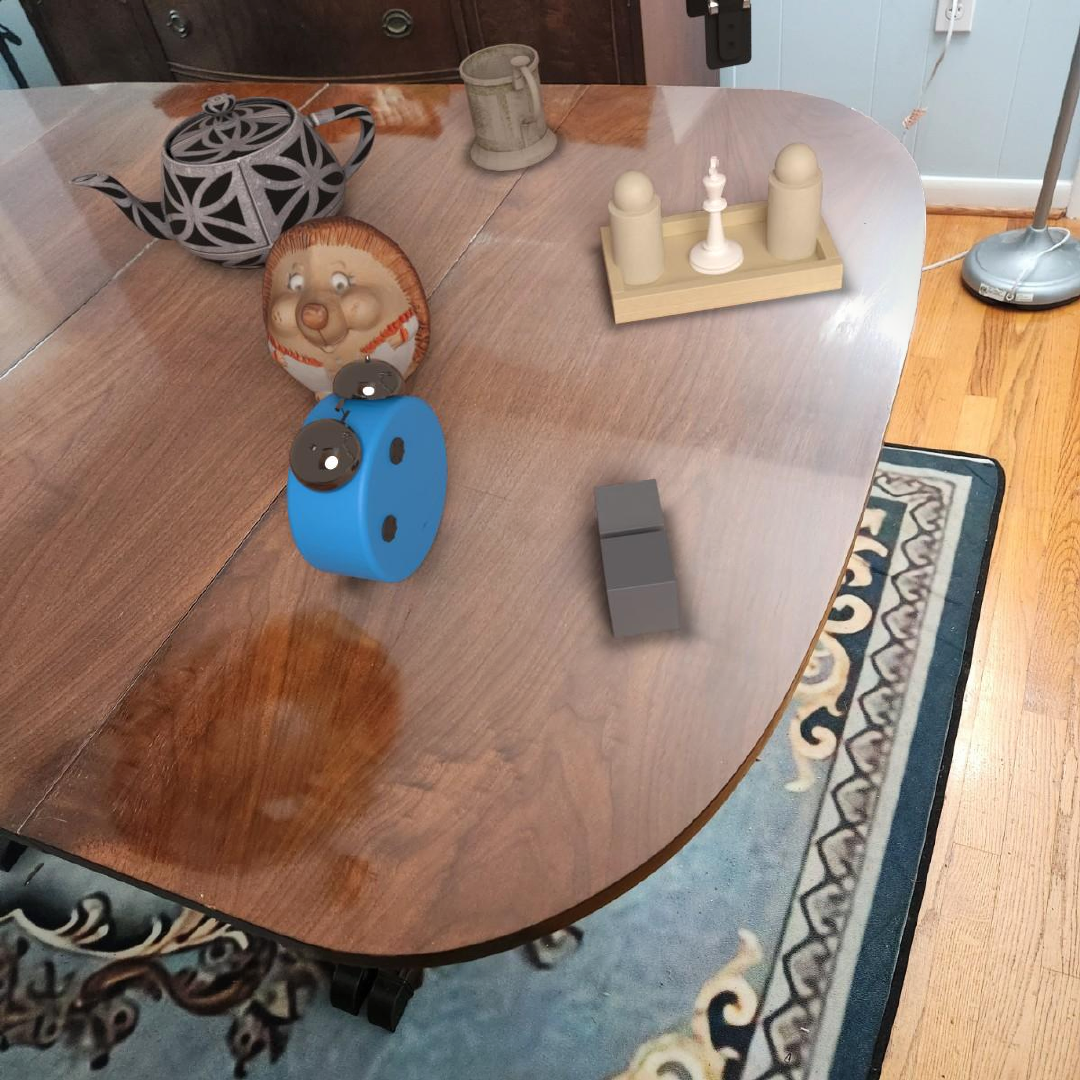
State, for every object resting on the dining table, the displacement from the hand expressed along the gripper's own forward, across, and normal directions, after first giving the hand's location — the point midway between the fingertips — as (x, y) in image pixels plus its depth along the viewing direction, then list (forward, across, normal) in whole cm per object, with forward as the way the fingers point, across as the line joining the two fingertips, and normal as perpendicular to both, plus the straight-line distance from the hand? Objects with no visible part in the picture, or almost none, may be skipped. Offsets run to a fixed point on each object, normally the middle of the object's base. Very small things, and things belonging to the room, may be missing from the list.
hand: (717, 38), depth 77 cm
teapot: (+21, +20, +47) cm, 55 cm away
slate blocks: (+22, -34, +12) cm, 42 cm away
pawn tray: (+21, +1, +1) cm, 21 cm away
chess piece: (+20, +1, +1) cm, 20 cm away
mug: (+21, +28, +18) cm, 39 cm away
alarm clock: (+21, -28, +30) cm, 46 cm away
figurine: (+21, -7, +34) cm, 40 cm away
